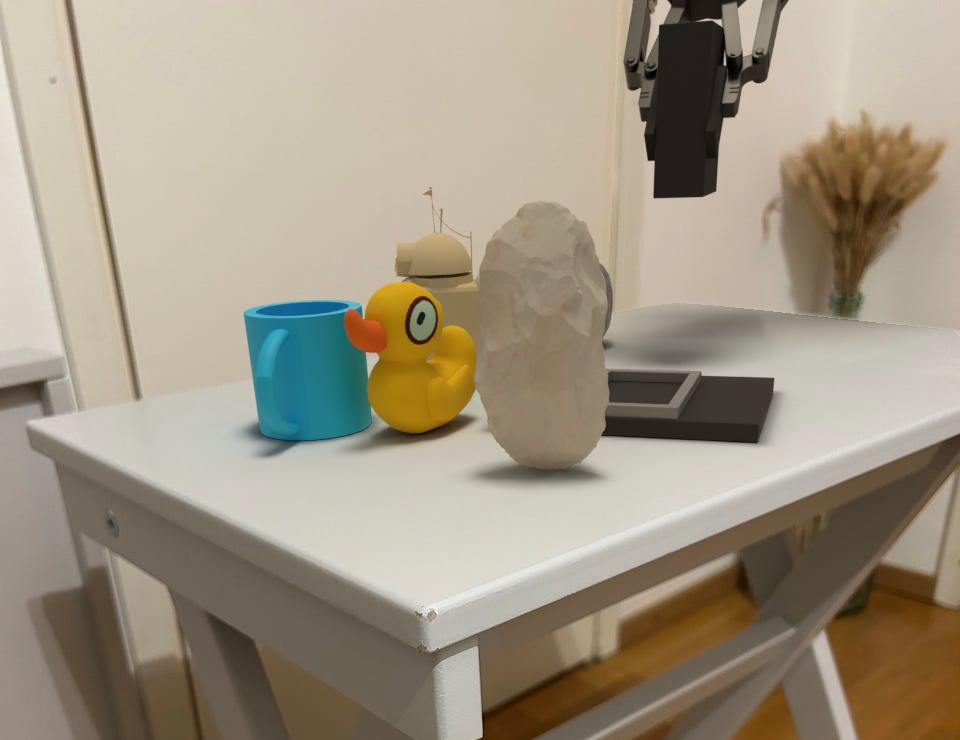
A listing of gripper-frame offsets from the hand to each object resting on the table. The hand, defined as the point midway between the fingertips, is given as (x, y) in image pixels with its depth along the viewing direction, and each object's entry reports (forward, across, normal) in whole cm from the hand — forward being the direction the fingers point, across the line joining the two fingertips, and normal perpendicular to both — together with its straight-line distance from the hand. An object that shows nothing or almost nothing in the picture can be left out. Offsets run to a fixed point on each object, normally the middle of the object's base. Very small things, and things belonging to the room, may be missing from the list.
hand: (680, 146), depth 78 cm
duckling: (+29, +14, +4) cm, 32 cm away
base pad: (+23, 0, -1) cm, 23 cm away
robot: (+18, +19, -7) cm, 27 cm away
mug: (+30, +22, +6) cm, 38 cm away
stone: (+34, +3, +9) cm, 35 cm away
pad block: (0, 0, -5) cm, 5 cm away
